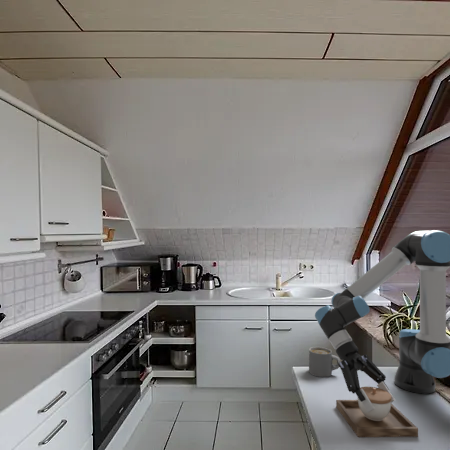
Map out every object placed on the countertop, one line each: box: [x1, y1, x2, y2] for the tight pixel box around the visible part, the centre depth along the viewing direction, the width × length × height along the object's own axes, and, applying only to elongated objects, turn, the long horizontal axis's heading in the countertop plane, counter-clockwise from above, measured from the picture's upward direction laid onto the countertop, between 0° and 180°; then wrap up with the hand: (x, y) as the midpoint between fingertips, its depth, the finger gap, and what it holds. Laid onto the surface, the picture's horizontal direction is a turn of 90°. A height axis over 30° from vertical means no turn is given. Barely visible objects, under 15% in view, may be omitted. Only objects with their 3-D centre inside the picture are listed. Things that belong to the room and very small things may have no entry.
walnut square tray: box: [335, 399, 419, 438], centre depth 120 cm, size 19×19×2 cm
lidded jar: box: [357, 386, 392, 421], centre depth 120 cm, size 11×11×9 cm
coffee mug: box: [308, 346, 341, 378], centre depth 160 cm, size 13×10×10 cm
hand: (382, 406), depth 118 cm, fingers closed on lidded jar, 11 cm apart
